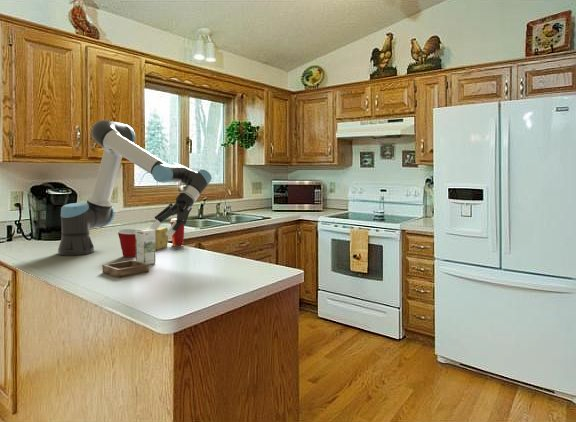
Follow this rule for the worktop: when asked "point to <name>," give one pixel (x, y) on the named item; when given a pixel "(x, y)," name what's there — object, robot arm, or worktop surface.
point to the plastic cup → (127, 242)
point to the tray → (125, 268)
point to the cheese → (160, 238)
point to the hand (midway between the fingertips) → (158, 234)
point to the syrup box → (145, 246)
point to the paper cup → (178, 234)
